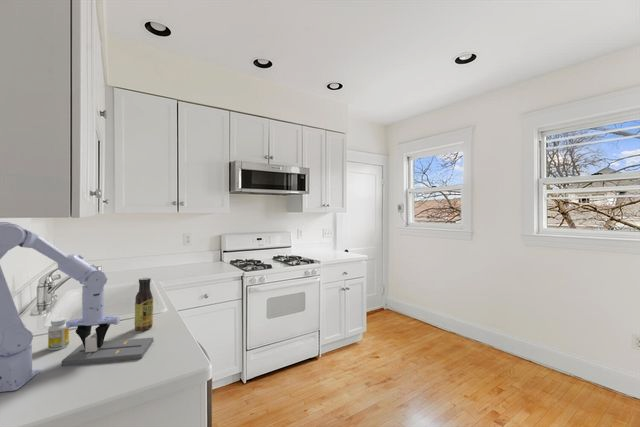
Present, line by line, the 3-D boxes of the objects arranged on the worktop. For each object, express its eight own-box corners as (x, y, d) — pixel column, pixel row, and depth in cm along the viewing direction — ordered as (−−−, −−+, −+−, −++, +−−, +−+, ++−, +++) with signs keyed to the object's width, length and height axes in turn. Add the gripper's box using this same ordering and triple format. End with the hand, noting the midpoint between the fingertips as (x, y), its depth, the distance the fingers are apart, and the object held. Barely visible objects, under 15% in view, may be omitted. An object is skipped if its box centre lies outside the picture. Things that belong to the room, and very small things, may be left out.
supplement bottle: (53, 352, 99) (53, 323, 99) (45, 348, 101) (44, 320, 101) (72, 345, 104) (72, 318, 104) (63, 342, 106) (63, 315, 106)
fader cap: (96, 351, 96) (95, 337, 96) (85, 352, 96) (85, 338, 95) (102, 345, 100) (101, 331, 100) (91, 346, 100) (91, 332, 99)
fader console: (141, 358, 96) (141, 353, 96) (61, 366, 91) (61, 360, 91) (153, 341, 108) (153, 337, 107) (82, 347, 102) (82, 342, 102)
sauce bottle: (144, 332, 115) (144, 281, 114) (130, 330, 116) (130, 280, 115) (157, 325, 121) (156, 277, 120) (143, 324, 122) (143, 276, 122)
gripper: (123, 300, 103) (123, 339, 103) (74, 303, 100) (75, 343, 100) (114, 307, 96) (114, 349, 97) (61, 310, 93) (62, 353, 93)
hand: (93, 347), depth 98 cm, fingers closed on fader cap, 3 cm apart
